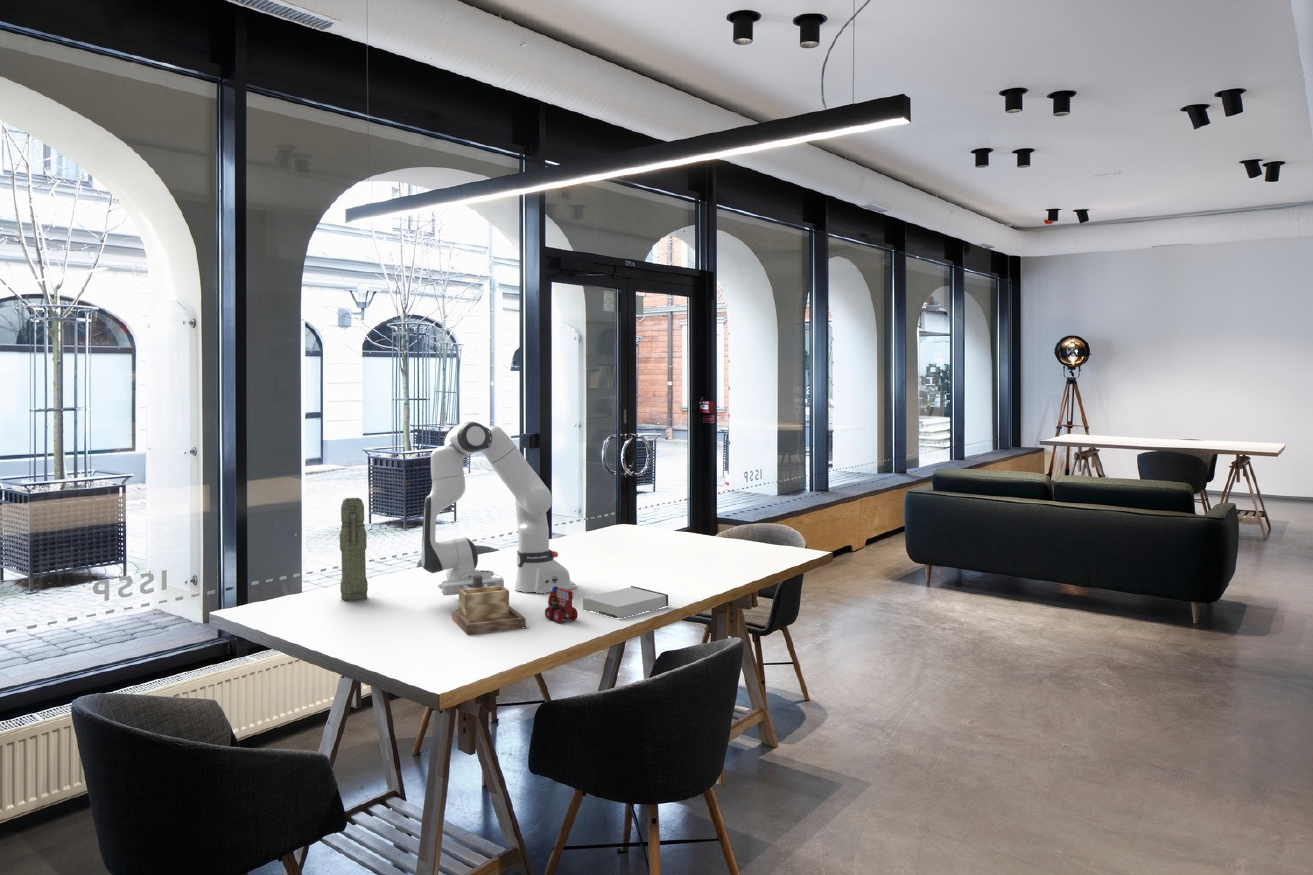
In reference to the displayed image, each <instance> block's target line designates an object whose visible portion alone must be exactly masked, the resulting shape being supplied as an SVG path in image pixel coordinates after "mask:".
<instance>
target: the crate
mask: <svg viewBox="0 0 1313 875" xmlns="http://www.w3.org/2000/svg"><path fill="white" fill-rule="evenodd" d="M509 606H510V590H509V589H507V588H506V587H505V586H504V587H503V586H502V585H501V586H491V587H482V576H481V575H475V576H473V588H471V589H461V590H459V594H458V611H459V612H460V613H461V614H462V615H463V616H464V617H465V618H466V619H467V620H475V619H484V618H492V617H501V616H509Z"/></svg>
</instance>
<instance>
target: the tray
mask: <svg viewBox="0 0 1313 875" xmlns="http://www.w3.org/2000/svg"><path fill="white" fill-rule="evenodd" d="M451 615H452V621H453V622H454V623H455V624H456V625H457V626H458V627H459V628H460V629H461V630H462V631H463V632H464V633H465V634H466V635H468V636H469V635H476V634H485V633H493V632H495V633H496V632H502V631H509V630H510V631H511V630H518V628H519V629H524V628H523V627H527V626H526V624H527V619H526V618H527V617H525V616H524V615H522V614H521V613H519V611H517V610H516V609H514V608H513V607H512V606H510V605H509V616H501V617H492V618H484V619H475V620H467V619H466V618H465V617H464V616H463V615H462V614H461V613H460V612H459V609H456V610H455V609H453V610H452V614H451Z"/></svg>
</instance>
